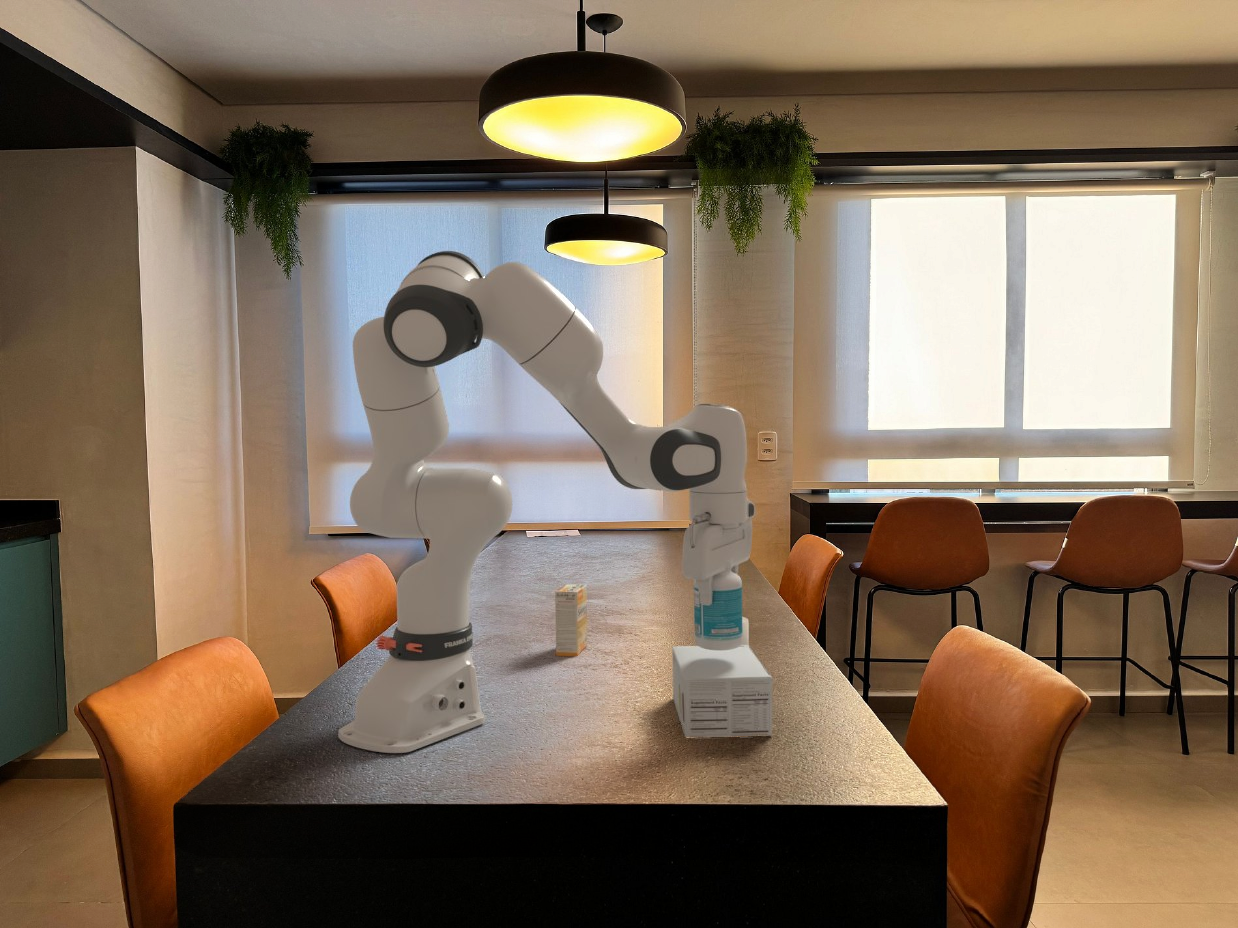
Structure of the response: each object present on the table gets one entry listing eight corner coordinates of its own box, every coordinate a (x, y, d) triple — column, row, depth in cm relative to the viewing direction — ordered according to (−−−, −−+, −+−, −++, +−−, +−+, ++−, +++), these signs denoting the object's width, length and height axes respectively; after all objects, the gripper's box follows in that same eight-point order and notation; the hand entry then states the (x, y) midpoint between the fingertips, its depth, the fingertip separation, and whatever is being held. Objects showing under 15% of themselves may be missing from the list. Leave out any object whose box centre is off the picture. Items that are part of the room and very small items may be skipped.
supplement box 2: (671, 700, 132) (671, 645, 131) (749, 698, 132) (749, 643, 132) (684, 740, 115) (683, 677, 114) (773, 738, 115) (773, 675, 115)
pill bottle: (752, 645, 123) (751, 558, 122) (722, 655, 117) (722, 565, 117) (714, 636, 128) (713, 553, 127) (684, 645, 123) (683, 559, 122)
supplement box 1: (578, 657, 156) (577, 592, 156) (555, 656, 157) (554, 591, 157) (588, 646, 164) (587, 583, 164) (566, 645, 165) (565, 583, 165)
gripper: (711, 517, 111) (711, 615, 112) (758, 504, 129) (758, 588, 130) (670, 515, 114) (671, 610, 115) (722, 503, 132) (722, 584, 133)
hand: (718, 598), depth 122 cm, fingers closed on pill bottle, 7 cm apart
